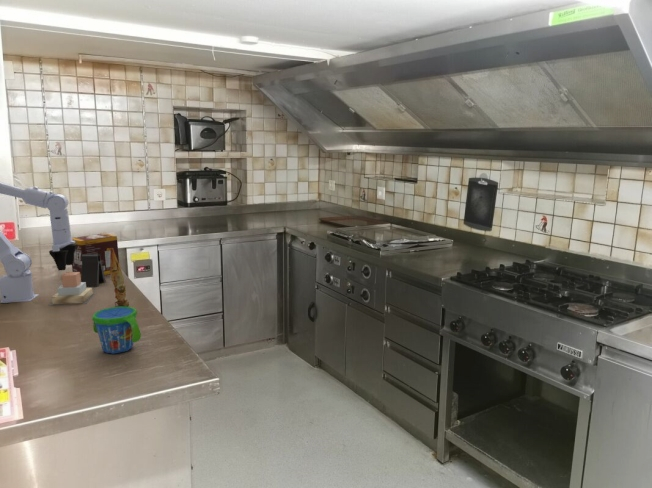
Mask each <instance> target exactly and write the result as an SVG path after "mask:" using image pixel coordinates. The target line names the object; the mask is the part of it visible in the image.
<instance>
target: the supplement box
mask: <svg viewBox="0 0 652 488" xmlns="http://www.w3.org/2000/svg"><path fill="white" fill-rule="evenodd" d="M72 238H73V241H75V243H74V244H77V247H76V249H75V253H74V260H73V265H71V269H72V272H80V278H81V272H82V259H81V257H82V255H83V254H100V256H101V264H102V268H103V272H104V276H107V275H110V254H111V248H113V250H114V253H115V255H116V258H117V260H118V263H119V264H120V258H119V256H120V255H119V246H118V245H119V244H118V236H117V235H114V234H109V233H104V232H103V233H98V234H90V235H84V236H77V237H72Z"/></svg>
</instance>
